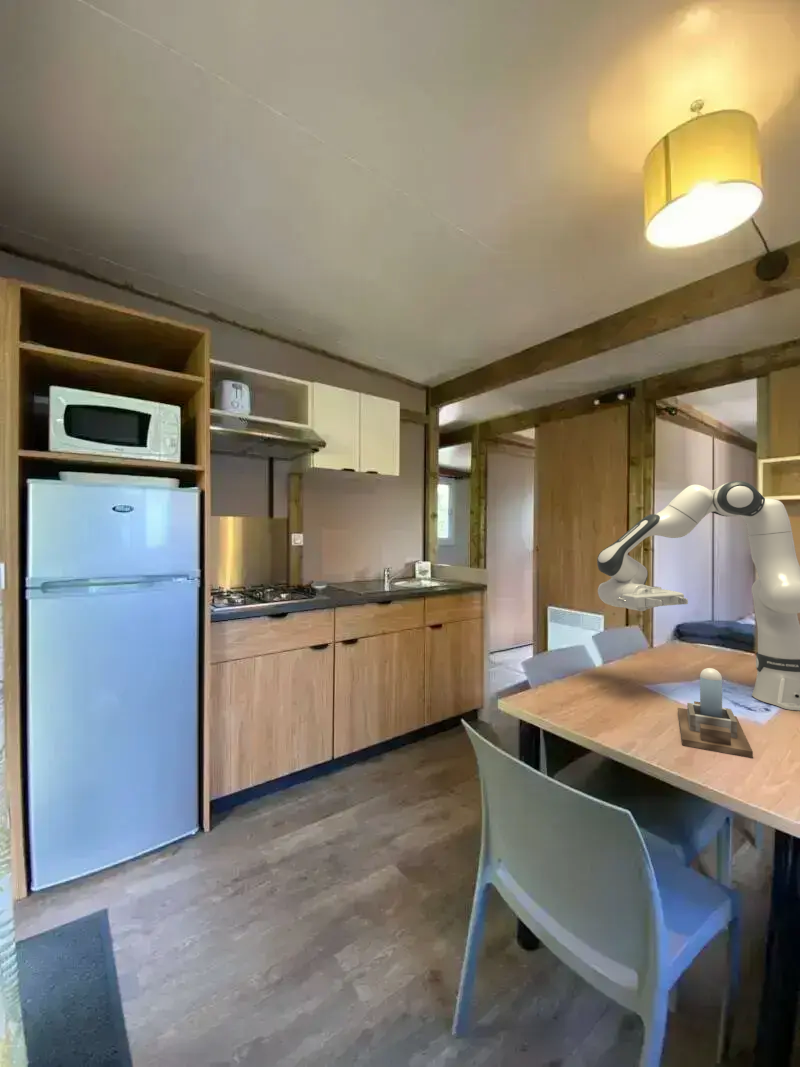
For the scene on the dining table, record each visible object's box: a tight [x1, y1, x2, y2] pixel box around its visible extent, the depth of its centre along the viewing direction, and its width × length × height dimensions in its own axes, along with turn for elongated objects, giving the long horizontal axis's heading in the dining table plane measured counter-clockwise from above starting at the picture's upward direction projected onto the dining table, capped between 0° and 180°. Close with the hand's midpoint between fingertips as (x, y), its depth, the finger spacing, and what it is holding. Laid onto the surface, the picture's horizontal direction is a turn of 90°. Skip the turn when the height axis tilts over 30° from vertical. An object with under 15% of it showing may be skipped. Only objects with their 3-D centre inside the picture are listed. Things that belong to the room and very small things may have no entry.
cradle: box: [677, 701, 754, 759], centre depth 121 cm, size 14×24×6 cm, turn 151°
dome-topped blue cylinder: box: [699, 667, 723, 718], centre depth 121 cm, size 5×5×15 cm
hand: (674, 602), depth 142 cm, fingers open, 8 cm apart
